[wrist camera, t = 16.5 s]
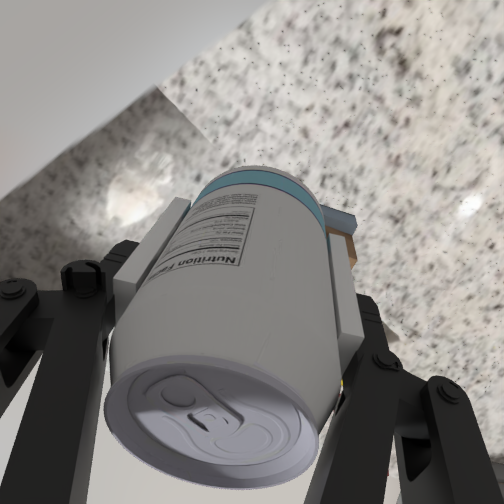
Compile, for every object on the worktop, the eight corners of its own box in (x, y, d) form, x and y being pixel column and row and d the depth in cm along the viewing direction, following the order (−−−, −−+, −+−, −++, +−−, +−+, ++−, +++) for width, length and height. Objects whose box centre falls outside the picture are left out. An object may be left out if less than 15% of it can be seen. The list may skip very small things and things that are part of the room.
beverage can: (254, 290, 22) (211, 517, 11) (172, 212, 19) (29, 408, 9) (350, 230, 18) (404, 466, 8) (265, 128, 16) (202, 286, 6)
